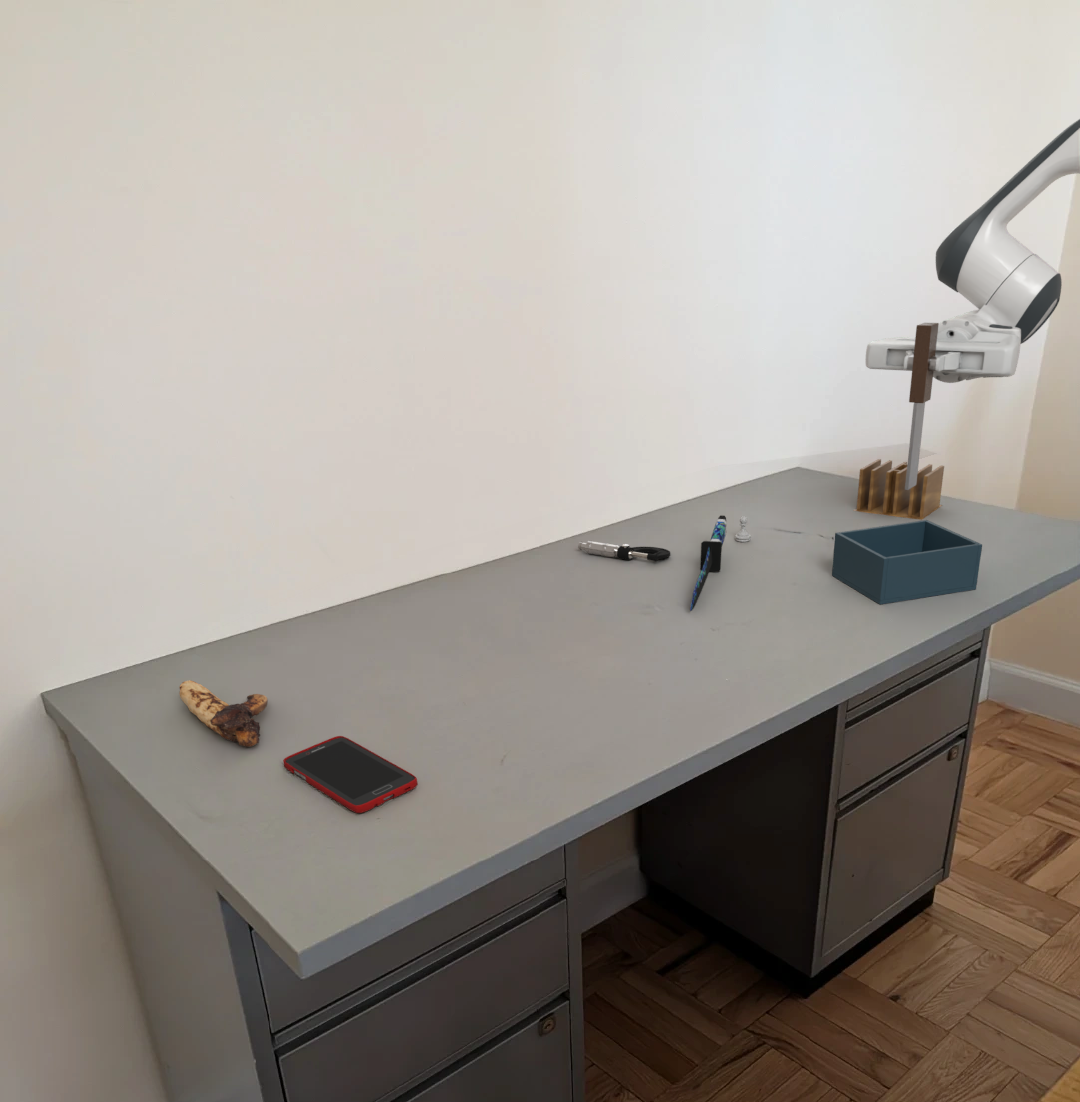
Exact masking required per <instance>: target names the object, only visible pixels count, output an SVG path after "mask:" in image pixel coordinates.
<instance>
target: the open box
mask: <svg viewBox="0 0 1080 1102" xmlns="http://www.w3.org/2000/svg"><path fill="white" fill-rule="evenodd" d="M833 544H834V545H833V555H832V569H831V572H832V573H831V576H832V577H834V578H835V579H837V580H839V581H840V582H842V583H843V584H845V585H847V586H848V587H850V588H851V589H853V590H854V591H857V592H858V593H859V594H861V595H864V596H865V597H867V598H868V599H870V600H871V601H873V602H875V604H878V605H886V604H893V603H898V602H905V601H911V600H917V599H923V598H930V597H936V596H937V597H938V596H942V595H949V594H955V593H956V594H957V593H963V592H969V591H975V590H977V585H978V579H979V571H980V564H981V557H982V551H983V544H982V543H980V542H978V541H975V540H973V539H971V538H970V537H969V538H968V537H967V536H964V535H962V534H960V533H958V532H955V531H953V530H952V529H948V528H946V527H944V526H942V525H939V524H937V523H936V522H933V521H930V520H928V519H922V520H917V521H908V522H902V523H895V524H894V523H893V524H888V525H882V526H881V525H880V526H874V527H865V528H860V529H853V530H845V531H838V532H835V533H834V543H833Z"/></svg>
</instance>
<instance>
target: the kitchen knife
mask: <svg viewBox="0 0 1080 1102" xmlns="http://www.w3.org/2000/svg"><path fill="white" fill-rule="evenodd" d="M939 323H940V322H922V323H920V324H917V325H916V328H915V337H914V338H915V347H914V357H913V367H912V371H911V377H910V386H909V387H910V388H909V397H908V402H909V403H913V406H912V414H911V415H912V416H911V425H910V436H909V446H908V453H907V454H908V455H907V474H906V483H905V490H909V489H910V488H912V487H914V486H915V485H916V483H917V474H918V471H919V463H920V456H921V455H920V454H921V443H922V438H923V437H922V435H923V426H924V417H925V407H926V403H927V402H928V401H931V397H932V387H933V379H934V377H933V371H929V370H928V367H929V365H930V364H929V359H930V357H932V356H935V353H936V343H937V334H938V325H939Z"/></svg>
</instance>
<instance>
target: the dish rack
mask: <svg viewBox="0 0 1080 1102" xmlns="http://www.w3.org/2000/svg"><path fill="white" fill-rule="evenodd" d="M907 464H908V461H902V462H901V463H900V464H898V465H896V466H894V467H893V460H890V459H889V460H887V461H885V462H884V463H882V459H880V458H877V459H876V460H874V461H872V462H870V463H869V464H867V465H865V466H863V467H862V468H859V476H858V488H857V500H856V508H855V509H853V510H852V511H853V512H859V513H867V514H874V515H882V516H889V517H898V518H904V519H913V520H918V521H923V520H925V519H926V518H927V517H929V516H930V515H932V513H934V512H935V511H937V510H938V509H939V508H941V507H943V504H940V503H941V497H942V496H941V495H942V488H943V482H944V481H943V479H944V471H945V465H939V466H938V467H936V468H934V469H933V464H930V463H928V464H927V465H926V466H924V467H922V468H921V469H918V474H917V483H916V485H915V486H914V487H912V488H910V489H909V490H905V483H906V474H907Z"/></svg>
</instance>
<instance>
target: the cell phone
mask: <svg viewBox="0 0 1080 1102" xmlns="http://www.w3.org/2000/svg"><path fill="white" fill-rule="evenodd" d="M282 762H283V763H282V764H283V767H284V768H285V769H286V770H288V771H289V772H290V773H292V774H295V775H296V776H297V777H299V778H301V779H303V780H304V781H305V782H306V783H307V784H308V785H310V786H312V787H313V788H315V789H316V790H318V791H320V792H321V793H322V794H325V795H326V796H327V797H329V798H331V799H332V800H334V801H336V802H337V803H338V804H340V805H342V806H343V807H345V808H347V809H348V810H350V811H352V812H354V813H356V814H362V813H366V812H368V811H370V810H372V809H374V808H376V807H379V806H381V805H383V804H384V803H385V802H387V801H389V800H392V799H396V798H397V797H400V796H402V795H403V794H405V793H408V792H410V791H412V790H414V789H416V787H417V786H418V778H417V777H416V776H415V775H414V774H412V773H411V772H409V771H407V770H405V769H404V768H402V767H400V766H398V765H396V763H393V762H391V761H389V760H388V759H385V758H384V757H382V756H380V755H379V754H377V753H375V752H373V751H372V750H370V749H368V748H367V747H364V746H362V744H359V743H357V742H355V741H353V740H352V739H350V738H348V737H346V736H344V735H337V736H334V737H330V738H329V739H326V740H323V741H321V742H319V743H316V744H314V745H312V746H309V747H307V748H305V749H302V750H300V751H297V752H294V753H292V754H290V755H288V756H286V757H284V758H283V760H282Z"/></svg>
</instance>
